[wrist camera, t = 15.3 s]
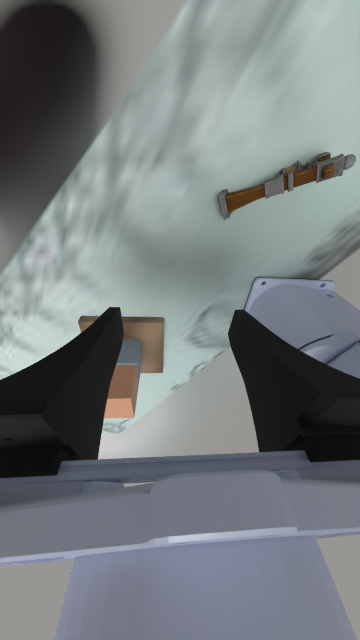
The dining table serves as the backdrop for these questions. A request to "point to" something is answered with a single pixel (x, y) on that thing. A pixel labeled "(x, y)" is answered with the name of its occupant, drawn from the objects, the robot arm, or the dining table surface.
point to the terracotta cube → (122, 392)
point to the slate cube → (131, 354)
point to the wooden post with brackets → (287, 181)
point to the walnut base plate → (149, 335)
